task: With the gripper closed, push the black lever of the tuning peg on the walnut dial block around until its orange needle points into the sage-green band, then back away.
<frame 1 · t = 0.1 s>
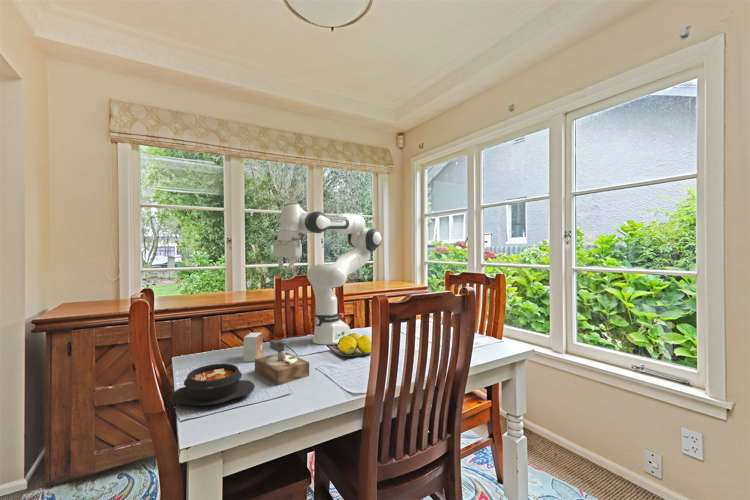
hand: (285, 267, 160), 39 cm above the table, tool pointing down, fingers open, 8 cm apart
dial block: (281, 373, 132), on the table
small box: (253, 359, 149), on the table
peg: (281, 350, 132), point 9 cm above the table, hinge at -90.0°
casserole: (213, 397, 112), on the table
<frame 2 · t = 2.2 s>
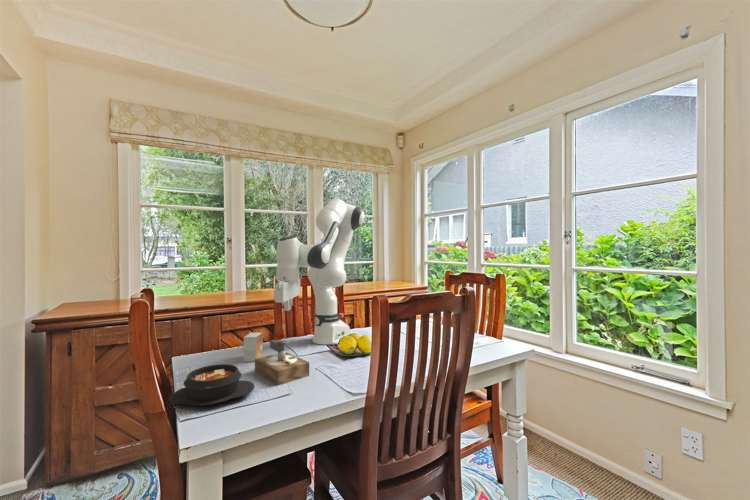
hand: (287, 310, 140), 23 cm above the table, tool pointing down, fingers closed
nothing on the table moved.
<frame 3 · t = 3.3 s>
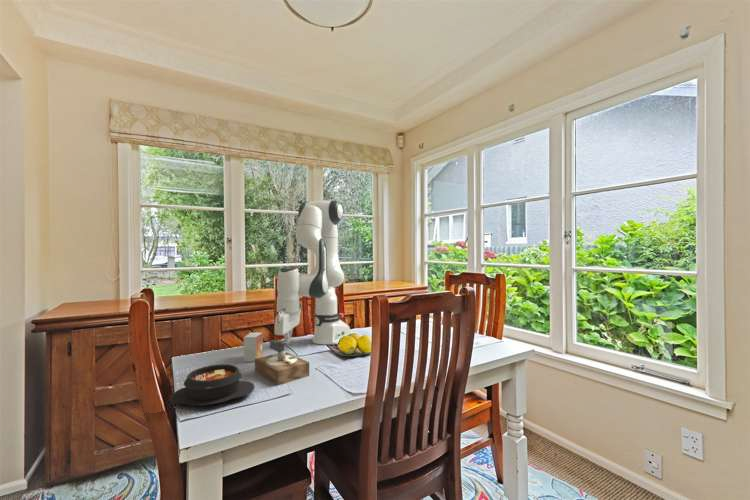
hand: (287, 340, 140), 10 cm above the table, tool pointing down, fingers closed
nothing on the table moved.
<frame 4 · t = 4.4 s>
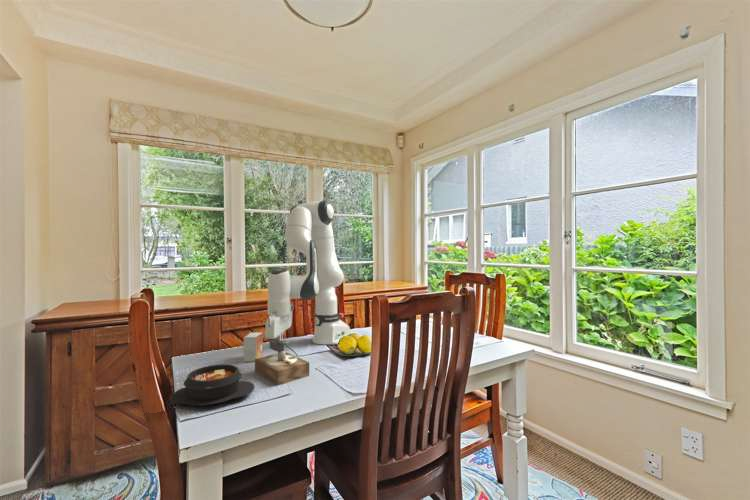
hand: (279, 344, 137), 10 cm above the table, tool pointing down, fingers closed, pressing on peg
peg: (281, 350, 132), point 9 cm above the table, hinge at -88.4°, touching gripper
everything else where it was.
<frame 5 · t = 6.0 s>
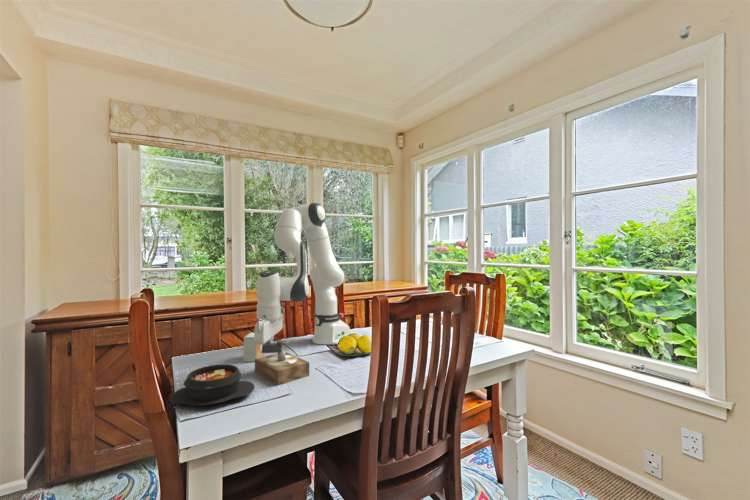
hand: (269, 348, 133), 9 cm above the table, tool pointing down, fingers closed, pressing on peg
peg: (280, 350, 132), point 9 cm above the table, hinge at -37.3°, touching gripper
everything else where it was.
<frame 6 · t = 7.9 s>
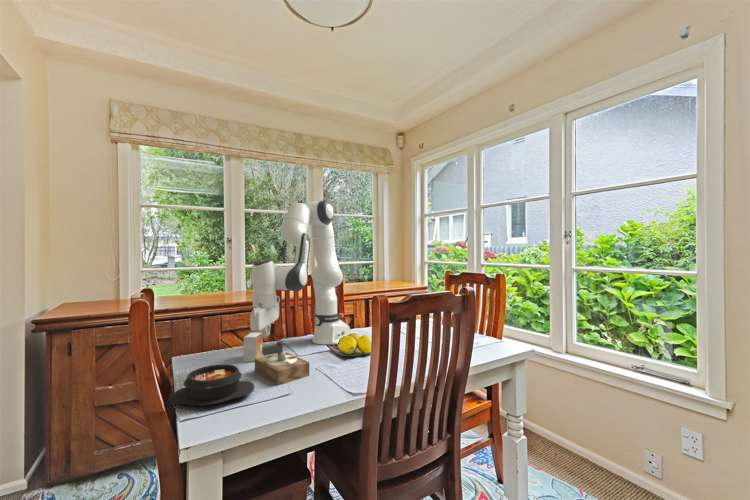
hand: (266, 336, 135), 14 cm above the table, tool pointing down, fingers closed
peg: (280, 350, 132), point 9 cm above the table, hinge at -9.7°
everything else where it was.
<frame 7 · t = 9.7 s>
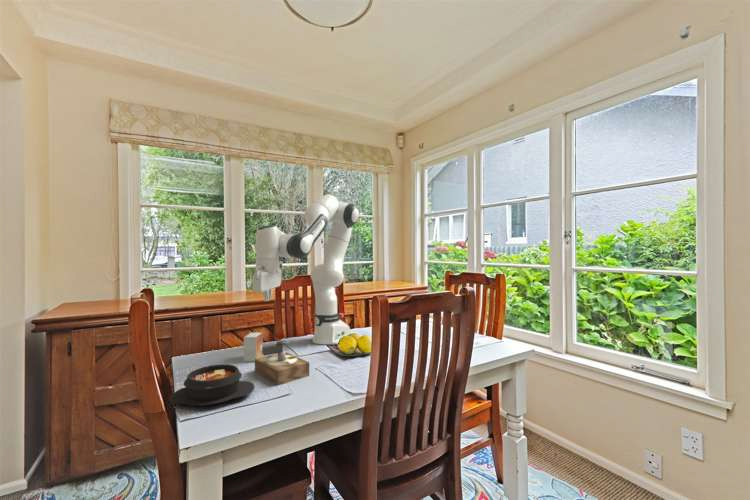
hand: (267, 300, 137), 27 cm above the table, tool pointing down, fingers closed
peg: (280, 350, 132), point 9 cm above the table, hinge at -9.1°
everything else where it was.
at the end: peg at -9° (first picture: -90°); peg touching nothing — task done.
